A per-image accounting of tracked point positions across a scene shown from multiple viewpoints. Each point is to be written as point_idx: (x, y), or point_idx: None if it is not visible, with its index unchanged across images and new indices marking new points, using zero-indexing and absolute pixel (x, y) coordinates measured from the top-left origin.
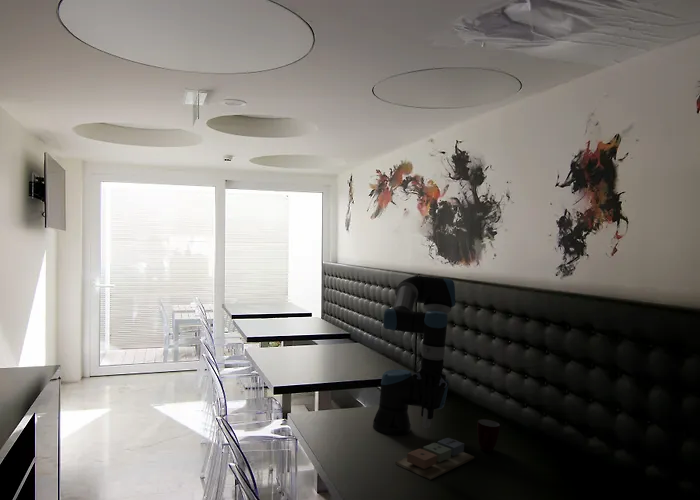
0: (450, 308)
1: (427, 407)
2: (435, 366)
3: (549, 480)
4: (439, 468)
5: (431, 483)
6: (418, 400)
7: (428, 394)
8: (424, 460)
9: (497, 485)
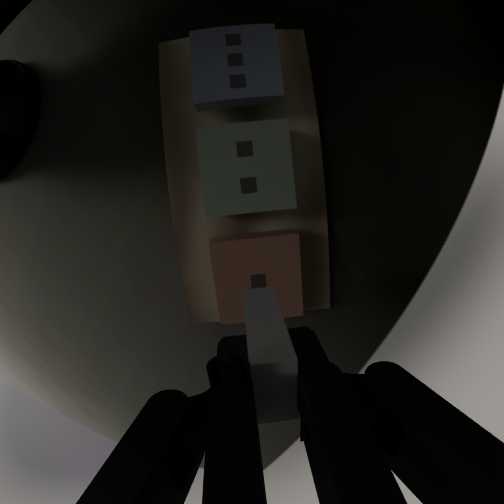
0: None
1: (300, 430)
2: None
3: (465, 29)
4: (306, 227)
5: (341, 316)
6: (182, 465)
7: (264, 496)
8: (300, 315)
9: (445, 153)
